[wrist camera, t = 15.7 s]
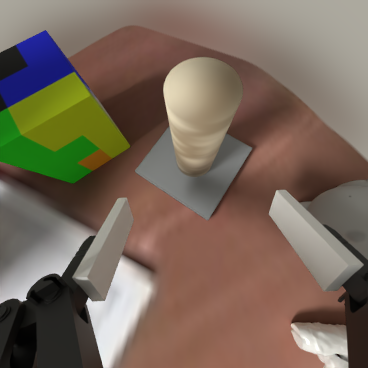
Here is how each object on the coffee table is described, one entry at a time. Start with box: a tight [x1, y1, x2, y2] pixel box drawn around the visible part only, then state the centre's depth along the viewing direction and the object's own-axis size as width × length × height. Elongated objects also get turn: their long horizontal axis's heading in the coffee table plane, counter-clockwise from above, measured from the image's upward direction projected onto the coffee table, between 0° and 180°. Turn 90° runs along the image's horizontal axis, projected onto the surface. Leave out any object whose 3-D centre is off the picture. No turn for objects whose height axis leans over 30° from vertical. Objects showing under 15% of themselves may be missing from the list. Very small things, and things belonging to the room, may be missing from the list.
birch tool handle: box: [163, 57, 243, 177], centre depth 15 cm, size 5×5×12 cm
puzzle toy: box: [0, 30, 131, 184], centre depth 19 cm, size 10×10×10 cm
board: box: [135, 126, 252, 220], centre depth 22 cm, size 12×12×1 cm
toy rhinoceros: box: [300, 179, 368, 260], centre depth 17 cm, size 7×12×8 cm, turn 124°
